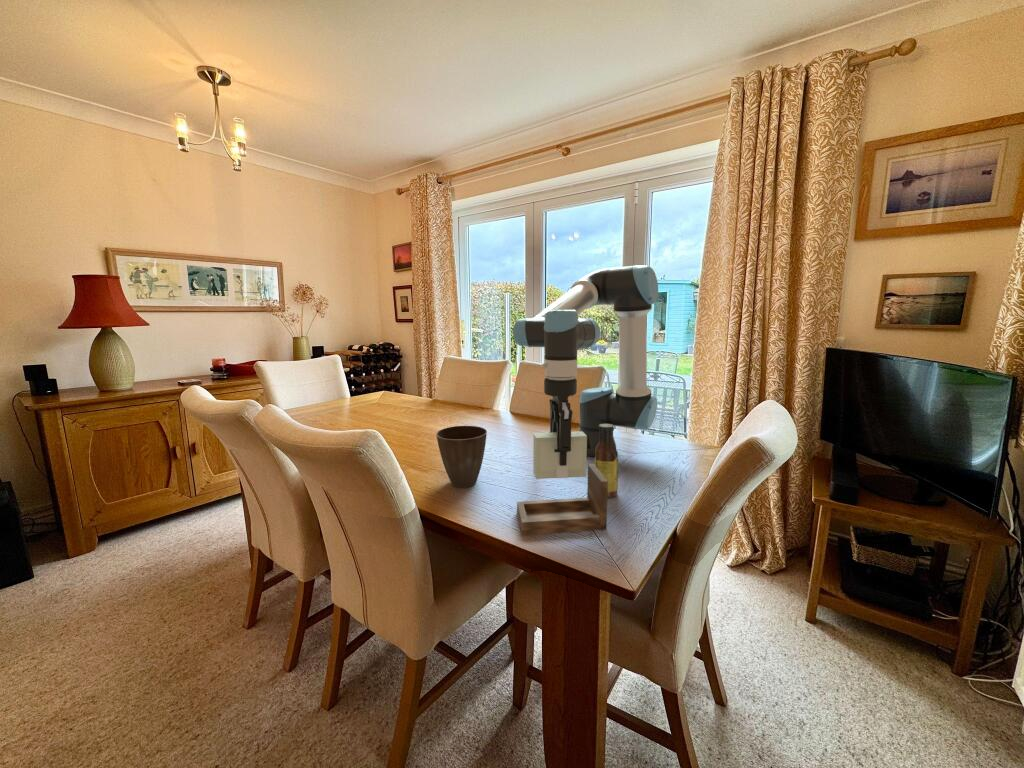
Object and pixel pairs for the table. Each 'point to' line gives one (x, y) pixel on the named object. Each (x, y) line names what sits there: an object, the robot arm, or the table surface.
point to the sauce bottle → (607, 458)
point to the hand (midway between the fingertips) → (559, 473)
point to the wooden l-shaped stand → (567, 510)
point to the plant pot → (462, 453)
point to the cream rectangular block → (547, 457)
